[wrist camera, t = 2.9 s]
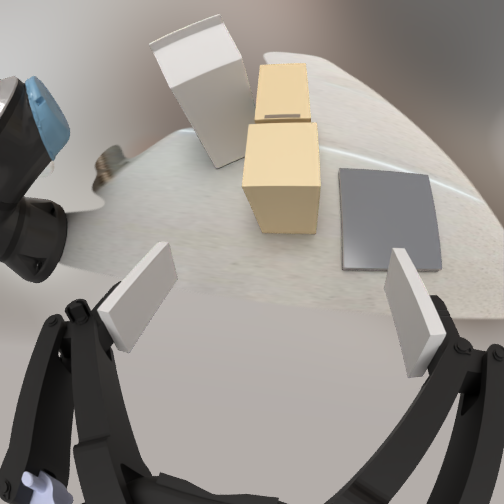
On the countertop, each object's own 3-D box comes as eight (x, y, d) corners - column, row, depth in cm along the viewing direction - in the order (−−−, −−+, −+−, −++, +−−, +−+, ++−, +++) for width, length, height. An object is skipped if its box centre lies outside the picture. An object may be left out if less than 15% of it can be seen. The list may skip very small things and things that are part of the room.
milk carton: (266, 148, 34) (232, 24, 16) (216, 170, 35) (152, 57, 17) (246, 116, 36) (210, 6, 18) (202, 135, 37) (145, 33, 19)
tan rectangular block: (262, 233, 31) (241, 186, 21) (265, 183, 33) (248, 124, 22) (316, 234, 30) (321, 186, 19) (315, 183, 32) (317, 122, 21)
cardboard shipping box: (269, 179, 33) (253, 119, 22) (272, 125, 35) (259, 64, 25) (311, 179, 32) (311, 117, 21) (309, 125, 34) (306, 62, 24)
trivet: (342, 269, 28) (343, 267, 27) (338, 173, 31) (339, 168, 30) (437, 271, 26) (442, 269, 25) (424, 179, 29) (428, 175, 28)
